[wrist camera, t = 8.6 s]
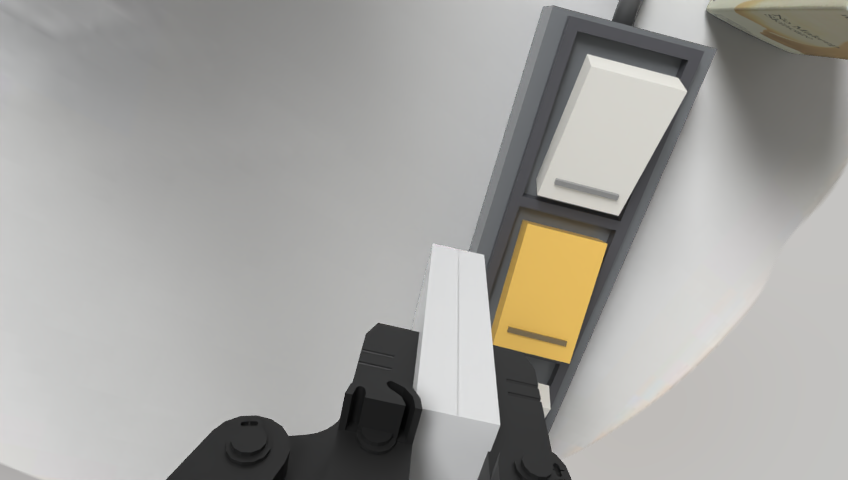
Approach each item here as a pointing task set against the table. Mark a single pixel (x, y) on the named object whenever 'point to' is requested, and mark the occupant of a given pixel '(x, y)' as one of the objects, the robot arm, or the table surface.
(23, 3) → the table surface
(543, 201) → the power strip
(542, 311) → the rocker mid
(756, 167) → the table surface
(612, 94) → the block
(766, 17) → the skincare box
